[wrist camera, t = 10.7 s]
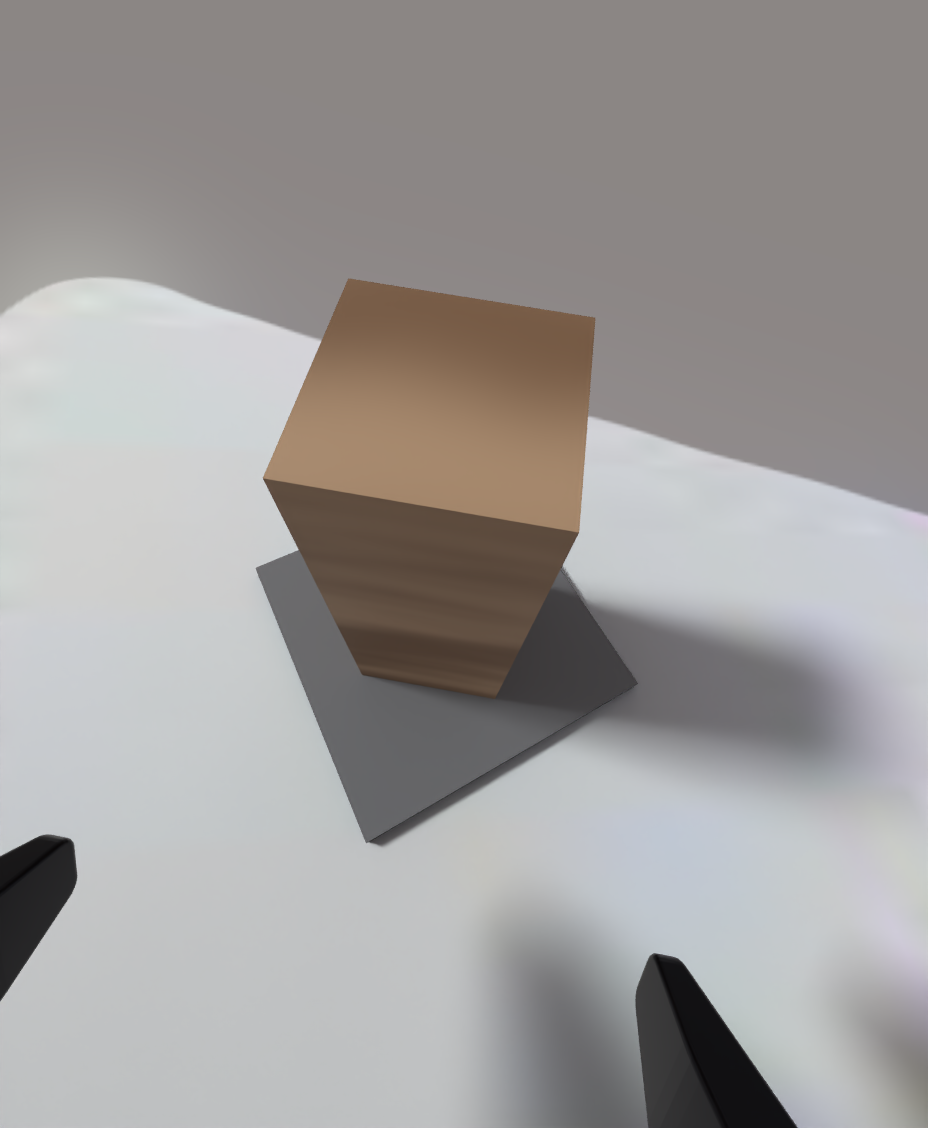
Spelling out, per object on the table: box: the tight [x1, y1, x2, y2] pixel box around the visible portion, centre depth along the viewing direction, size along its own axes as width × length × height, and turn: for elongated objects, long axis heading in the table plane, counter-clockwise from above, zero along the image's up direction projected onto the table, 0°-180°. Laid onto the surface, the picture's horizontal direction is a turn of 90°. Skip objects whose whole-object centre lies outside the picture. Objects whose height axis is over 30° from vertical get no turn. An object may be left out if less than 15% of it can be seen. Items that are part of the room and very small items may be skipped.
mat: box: [256, 550, 638, 843], centre depth 18 cm, size 10×10×1 cm
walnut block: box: [263, 279, 595, 699], centre depth 13 cm, size 4×4×11 cm
